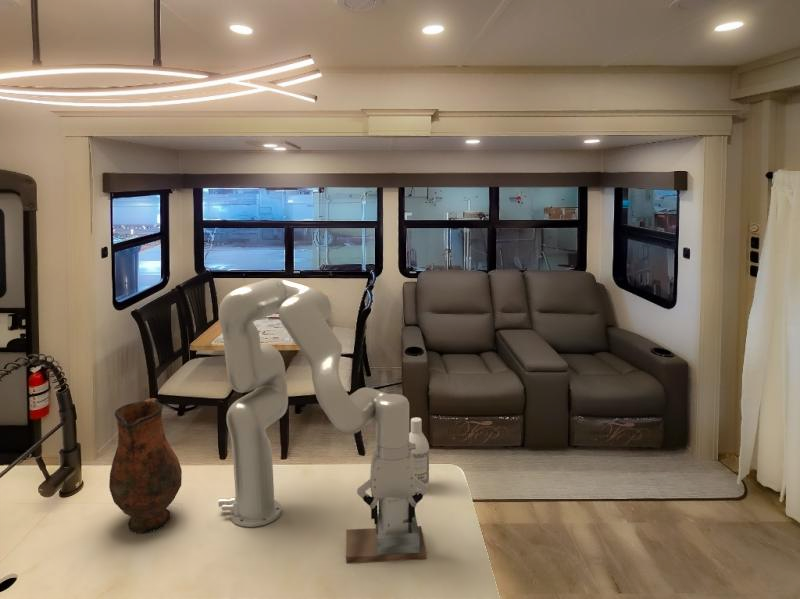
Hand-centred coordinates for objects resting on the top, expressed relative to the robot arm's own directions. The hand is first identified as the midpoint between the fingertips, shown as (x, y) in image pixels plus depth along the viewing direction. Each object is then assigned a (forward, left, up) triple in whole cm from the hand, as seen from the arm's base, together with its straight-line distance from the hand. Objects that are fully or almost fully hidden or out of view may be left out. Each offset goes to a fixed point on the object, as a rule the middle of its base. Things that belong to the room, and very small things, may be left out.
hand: (393, 520), depth 148 cm
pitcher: (-60, +18, -7) cm, 63 cm away
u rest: (-2, 0, -7) cm, 7 cm away
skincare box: (0, 0, -5) cm, 5 cm away
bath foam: (+8, +27, -7) cm, 29 cm away
